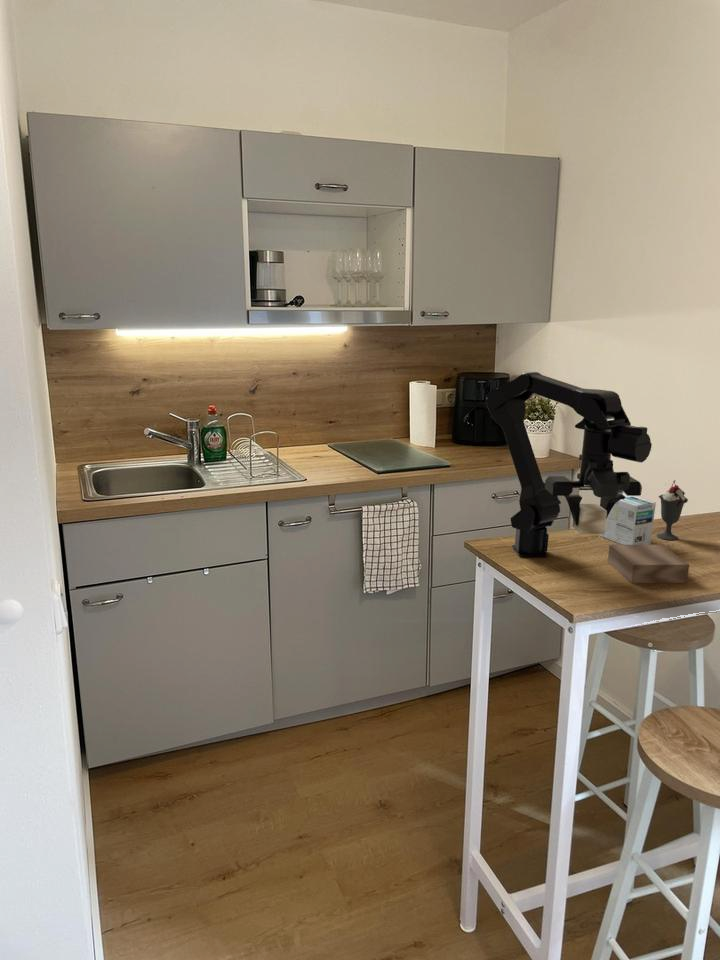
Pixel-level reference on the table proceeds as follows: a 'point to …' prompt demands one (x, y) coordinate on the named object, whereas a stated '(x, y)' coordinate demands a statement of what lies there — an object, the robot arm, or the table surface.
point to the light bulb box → (630, 521)
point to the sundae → (671, 510)
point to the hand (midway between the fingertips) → (588, 525)
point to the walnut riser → (648, 564)
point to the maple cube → (591, 519)
